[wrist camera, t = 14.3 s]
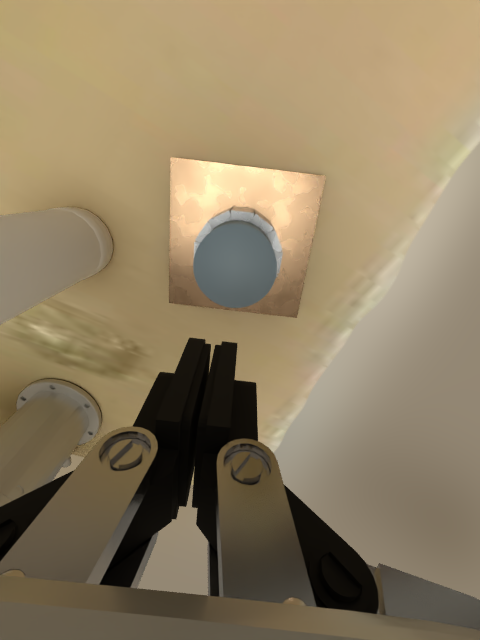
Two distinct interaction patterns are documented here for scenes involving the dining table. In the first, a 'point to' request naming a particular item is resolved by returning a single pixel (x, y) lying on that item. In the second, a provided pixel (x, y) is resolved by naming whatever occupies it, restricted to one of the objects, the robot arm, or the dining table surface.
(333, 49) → the dining table surface
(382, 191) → the dining table surface
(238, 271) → the cap
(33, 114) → the dining table surface
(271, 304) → the copper square plate
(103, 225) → the bottle
